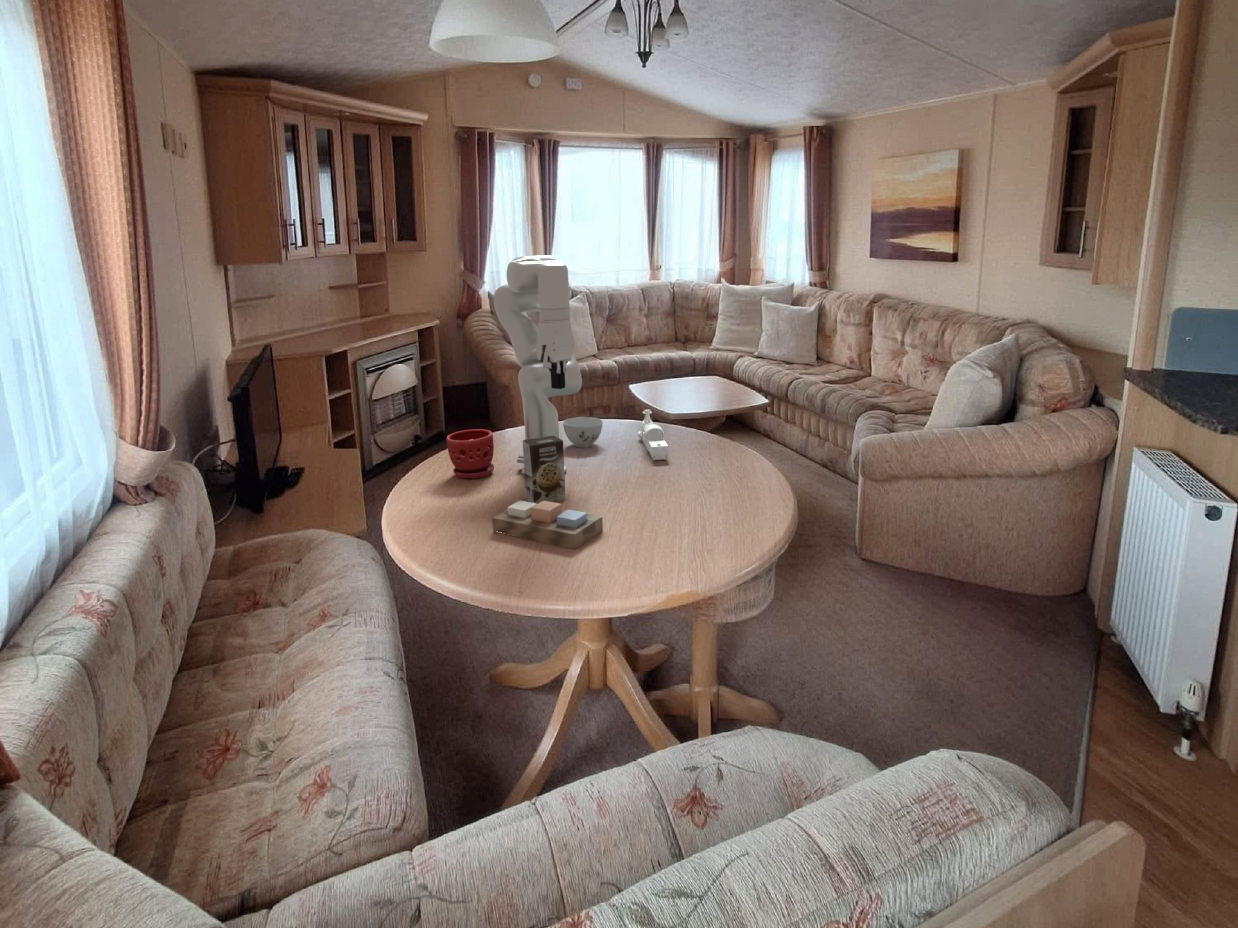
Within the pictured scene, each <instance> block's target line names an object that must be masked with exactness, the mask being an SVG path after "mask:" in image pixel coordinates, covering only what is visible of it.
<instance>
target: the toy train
mask: <svg viewBox="0 0 1238 928" xmlns="http://www.w3.org/2000/svg"><path fill="white" fill-rule="evenodd" d="M652 413H653V412H652V411H651V409H644V410H643V411H642V414H644V419H643V420H642V421H641V423H640V427H641V430H640V431H638V432H637V436H638V439H639V440H640V441H642V442H643V445H644V446H645V448H646V450H647V452H648V453H649V455H650V457H651V459H652V461H653V462H655V461H656V460H657V461H658V460H664V461H666V460H667V456H669V445H668V443H667V442H666V439H665V440H663V437H664V435H663V434H665V431H664V430H663V428H662V427H661V426H660V425H659V424H657V423H656V424H655V423H654V422H653V419H652V417H651V416H650V414H652Z"/></svg>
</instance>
